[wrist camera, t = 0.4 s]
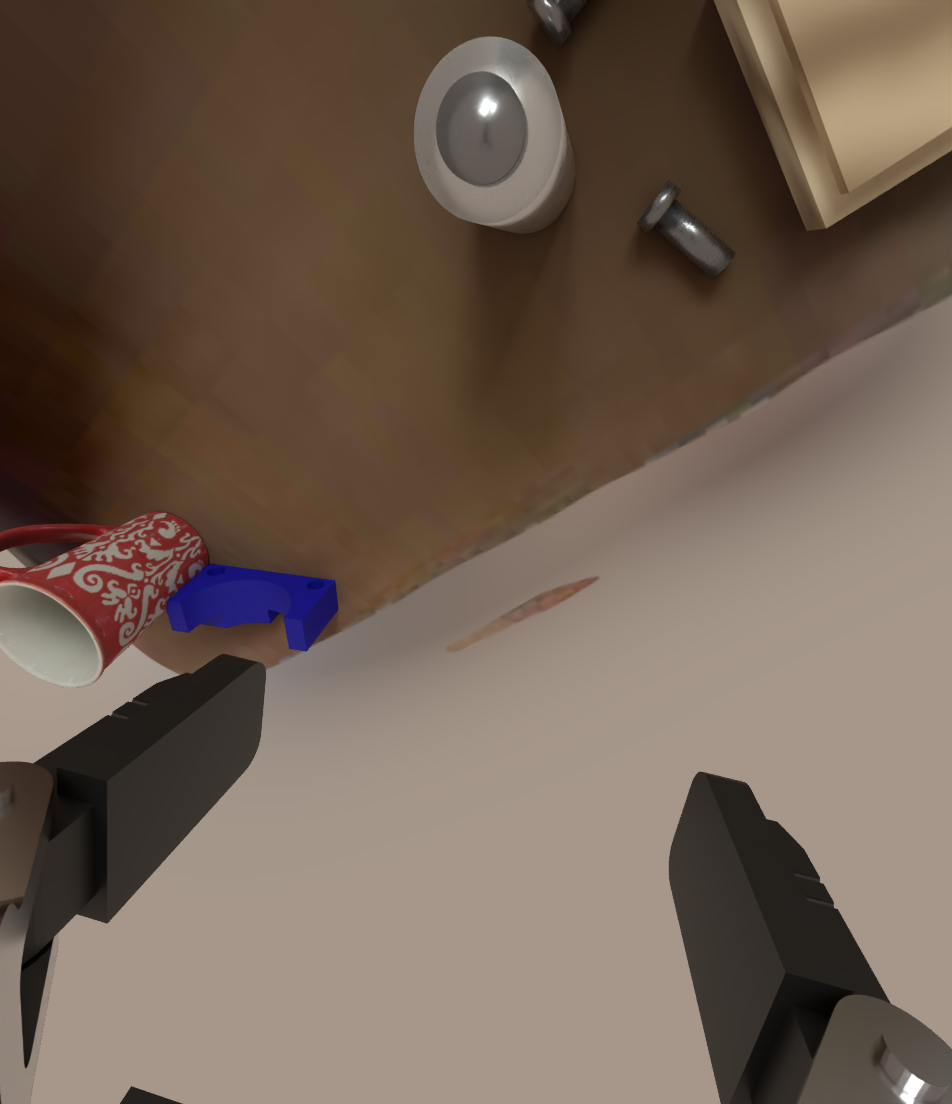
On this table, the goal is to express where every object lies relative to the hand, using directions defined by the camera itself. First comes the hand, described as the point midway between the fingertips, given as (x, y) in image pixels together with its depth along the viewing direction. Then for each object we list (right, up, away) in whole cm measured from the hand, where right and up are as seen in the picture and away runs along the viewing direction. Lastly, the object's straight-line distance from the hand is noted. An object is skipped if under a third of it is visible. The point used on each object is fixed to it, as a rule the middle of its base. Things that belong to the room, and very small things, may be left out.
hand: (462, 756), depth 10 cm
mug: (-28, +5, +39) cm, 48 cm away
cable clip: (-18, 0, +39) cm, 43 cm away
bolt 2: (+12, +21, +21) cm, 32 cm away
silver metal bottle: (+3, +25, +21) cm, 33 cm away
